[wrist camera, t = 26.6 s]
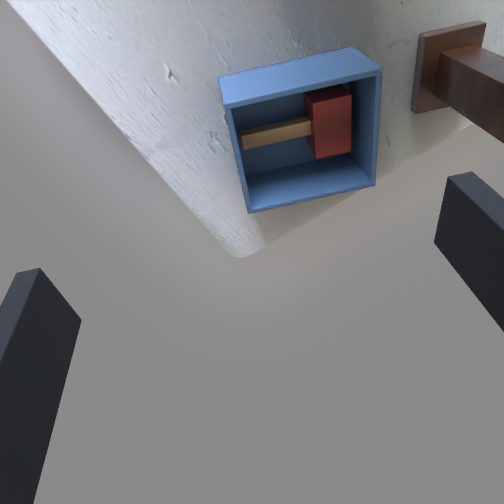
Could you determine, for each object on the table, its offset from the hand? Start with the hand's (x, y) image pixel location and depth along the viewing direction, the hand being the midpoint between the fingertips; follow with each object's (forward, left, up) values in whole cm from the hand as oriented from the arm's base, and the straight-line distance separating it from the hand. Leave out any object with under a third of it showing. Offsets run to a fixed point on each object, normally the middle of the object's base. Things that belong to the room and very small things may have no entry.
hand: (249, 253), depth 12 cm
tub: (+12, +8, -37) cm, 39 cm away
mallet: (+12, +8, -36) cm, 39 cm away
